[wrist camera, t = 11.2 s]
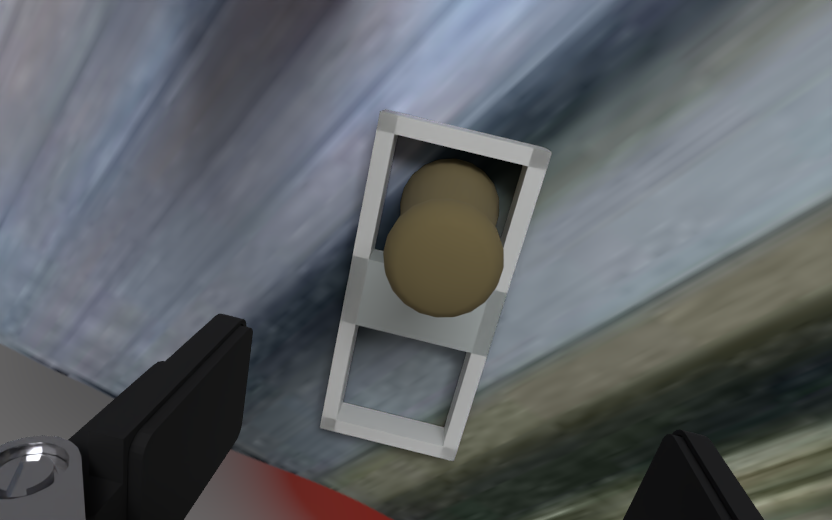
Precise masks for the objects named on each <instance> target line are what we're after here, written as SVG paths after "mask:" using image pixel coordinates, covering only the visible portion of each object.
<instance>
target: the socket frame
mask: <svg viewBox="0 0 832 520" xmlns="http://www.w3.org/2000/svg"><path fill="white" fill-rule="evenodd" d="M398 135H400V136H405V137H409V138H413V139H417V140H421V141H425V142H429V143H434V144H438V145H442V146H446V147H450V148H454V149H458V150H463V151H467V152H471V153H475V154H479V155H483V156H487V157H492V158H496V159H500V160H504V161H508V162H512V163H516V164H521V165H523V166H522V170H521V173H520V176H519V180H518V183H517V186H516V190H515V193H514V196H513V200H512V203H511V206H510V210H509V213H508V216H507V220H506V223H505V226H504V230H503V233H502V236H501V243H502V246H503V249H504V268H503V271H502V274H501V277H500V280H499V283H498V285H497V287H496V289H495V290H494V291H493V293H492V294H491V295H490V297H489V298H488V299H487V300H486V302H485V303H483V304H482V305H480V306H479V307H477V308H476V309H474V310H473V311H471V312H469V313H466V314H463V315H460V316H456V317H439V318H436V317H432V316H429V315H425V314H421V313H418V312H417V311H415V310H414V309H412V308H410V307H409V306H407V305H405V304H404V303H403V302H402V301H401V300H400V298H399V297H398V296H397V295H396V294H395V293H394V292H393V290H392V288H391V286H390V284H389V281H388V279H387V277H386V274H385V269H384V258H383V251H381V250H377V249H375V245H376V240H377V235H378V230H379V225H380V220H381V216H382V211H383V206H384V201H385V196H386V191H387V186H388V182H389V177H390V172H391V167H392V162H393V157H394V152H395V148H396V143H397V138H398ZM551 154H552V152H551V151H549V150H548V149H547V148H544V147H540V146H536V145H532V144H527V143H523V142H519V141H515V140H511V139H507V138H503V137H498V136H494V135H490V134H486V133H482V132H478V131H474V130H469V129H465V128H461V127H457V126H453V125H449V124H444V123H440V122H436V121H432V120H428V119H424V118H420V117H415V116H411V115H407V114H403V113H399V112H395V111H390V110H386V109H385V110H382V111H380V114H379V120H378V125H377V130H376V135H375V141H374V146H373V151H372V156H371V162H370V167H369V172H368V177H367V183H366V188H365V193H364V198H363V204H362V209H361V214H360V219H359V225H358V230H357V235H356V240H355V246H354V251H353V256H352V262H351V267H350V272H349V277H348V283H347V288H346V293H345V298H344V304H343V309H342V314H341V319H340V325H339V330H338V335H337V340H336V346H335V351H334V356H333V361H332V367H331V372H330V377H329V382H328V388H327V393H326V398H325V403H324V409H323V414H322V419H321V424H320V428H322V429H326V430H330V431H334V432H338V433H342V434H346V435H350V436H354V437H358V438H362V439H366V440H370V441H374V442H378V443H382V444H386V445H390V446H394V447H398V448H402V449H406V450H410V451H414V452H418V453H422V454H426V455H430V456H434V457H438V458H442V459H446V460H450V461H454V459H455V456H456V452H457V449H458V446H459V443H460V440H461V437H462V434H463V430H464V427H465V424H466V421H467V418H468V415H469V412H470V408H471V405H472V402H473V399H474V396H475V393H476V390H477V386H478V383H479V380H480V377H481V374H482V371H483V368H484V364H485V361H486V358H487V355H488V352H489V349H490V346H491V342H492V339H493V336H494V333H495V330H496V327H497V324H498V320H499V317H500V314H501V311H502V308H503V305H504V302H505V298H506V295H507V292H508V289H509V286H510V283H511V280H512V276H513V273H514V270H515V267H516V264H517V261H518V258H519V254H520V251H521V248H522V245H523V242H524V239H525V236H526V232H527V229H528V226H529V223H530V220H531V217H532V214H533V210H534V207H535V204H536V201H537V198H538V195H539V192H540V188H541V185H542V182H543V179H544V176H545V173H546V170H547V166H548V163H549V160H550V157H551ZM359 326H363V327H367V328H371V329H375V330H379V331H384V332H388V333H392V334H396V335H400V336H404V337H408V338H412V339H416V340H420V341H424V342H428V343H432V344H436V345H440V346H444V347H448V348H453V349H457V350H461V351H465V352H467V353H466V356H465V360H464V363H463V366H462V370H461V373H460V376H459V380H458V383H457V386H456V390H455V393H454V396H453V400H452V403H451V406H450V410H449V413H448V416H447V420H446V423H445V426H444V427H441V426H437V425H433V424H429V423H425V422H421V421H417V420H413V419H409V418H405V417H401V416H397V415H393V414H389V413H385V412H381V411H377V410H373V409H369V408H365V407H361V406H357V405H353V404H349V403H344V402H343V400H344V395H345V390H346V385H347V380H348V376H349V371H350V366H351V361H352V356H353V351H354V347H355V342H356V337H357V332H358V327H359Z"/></svg>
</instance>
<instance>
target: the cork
mask: <svg viewBox="0 0 832 520" xmlns="http://www.w3.org/2000/svg"><path fill="white" fill-rule="evenodd" d="M400 207H401V216H400V217H399V218H398V220H397V221H396V223H395V224H394V226H393V227H392V229H391V231H390V232H389V234H388V236H387V239H386V243H385V247H384V251H383V258H384V269H385V274H386V277H387V279H388V281H389V284H390V286H391V288H392V290H393V292H394V293H395V294H396V295H397V296H398V297H399V298H400V300H401V301H402V302H403V303H404V304H405V305H407V306H409V307H410V308H412V309H414V310H415V311H417V312H418V313H421V314H425V315H429V316H432V317H436V318H439V317H456V316H460V315H463V314H466V313H469V312H471V311H473V310H474V309H476V308H477V307H479V306H480V305H482V304H483V303H485V302H486V300H487V299H488V298H489V297H490V295H491V294H492V293H493V291H494V290H495V289H496V287H497V285H498V283H499V280H500V277H501V274H502V271H503V268H504V249H503V246H502V243H501V240H500V237H499V234H498V231H497V229H496V223H497V219H498V216H499V197H498V194H497V192H496V189H495V186H494V183H493V182H492V181H491V180H490V178H489V177H488V176H487V174H486V173H485V172H484V171H483V170H481V169H480V168H478V167H477V166H475V165H474V164H472V163H470V162H467V161H463V160H459V159H456V158H453V159H439V160H436V161H433V162H431V163H428V164H426V165H424V166H423V167H421V168H420V169H419V170H418V171H416V172H415V173H414V174H413V175H412V176H411V178H410V179H409V181H408V183H407V184H406V186H405V187H404V190H403V194H402V198H401V202H400Z"/></svg>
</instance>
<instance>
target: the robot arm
mask: <svg viewBox="0 0 832 520" xmlns="http://www.w3.org/2000/svg"><path fill="white" fill-rule="evenodd" d="M252 335H253V331H252V328H249V327H246V321H245V320H244V319H240V318H236V317H232V316H228V315H224V314H218V315H216V316H215V317H214V318H213V319H212V320H211V321H209V322H208V323H207V324H206V325H205V326H204V327H203V328H202V329H201V330H199V331H198V332H197V333H196V334H195V335H194V336H193V337H192V338H191V339H189V340H188V341H187V342H186V343H185V344H184V345H183V346H182V347H181V348H179V349H178V350H177V351H176V352H175V353H174V354H173V355H172V356H171V357H169V358H168V359H167V360H166V361H161V362H157V363H156V364H154V365H153V366H152V367H151V368H149V369H148V370H147V371H146V372H145V373H144V374H143V375H141V376H140V377H139V378H138V379H137V380H136V381H135V382H134V383H132V384H131V385H130V386H129V387H128V388H127V389H126V390H124V391H123V392H122V393H121V394H120V395H119V396H118V397H116V398H115V399H114V400H113V401H112V402H111V403H110V404H108V405H107V406H106V407H105V408H104V409H103V410H102V411H101V412H99V413H98V414H97V415H96V416H95V417H94V418H93V419H91V420H90V421H89V422H88V423H87V424H86V425H85V426H84V427H82V428H81V429H80V430H79V431H78V432H77V433H76V434H75V435H73V436H72V437H71V438H70V439H69V440H66V439H63V438H60V437H55V436H33V437H26V438H21V439H18V440H15V441H10V442H7V443H5V444H3V445H1V446H0V520H184V518H185V517H186V515H187V514H188V512H189V511H190V509H191V508H192V506H193V505H194V503H195V502H196V500H197V499H198V497H199V496H200V494H201V493H202V491H203V490H204V488H205V487H206V485H207V484H208V482H209V481H210V479H211V478H212V476H213V475H214V473H215V472H216V470H217V469H218V467H219V466H220V464H221V463H222V461H223V460H224V458H225V457H226V455H227V454H228V452H229V451H230V449H231V448H232V446H233V445H234V443H235V441H236V440H237V438H238V435H239V433H240V430H241V426H242V419H243V411H244V402H245V394H246V385H247V377H248V369H249V360H250V352H251V344H252ZM623 520H764V519H763V517H762V516H761V514H760V513H759V512H758V510H757V509H756V507H755V506H754V504H753V503H752V501H751V500H750V498H749V497H748V495H747V494H746V492H745V491H744V489H743V488H742V486H741V485H740V483H739V482H738V480H737V479H736V477H735V476H734V474H733V473H732V472H731V470H730V469H729V467H728V466H727V464H726V463H725V461H724V460H723V458H722V457H721V455H720V454H719V452H718V451H717V449H716V448H715V446H714V445H713V443H712V442H711V440H710V439H709V438H708V437H706V436H703V435H699V434H695V433H691V432H687V431H683V430H676V431H675V432H673V434H667V435H666V436H665V437H664V438H663V440H662V442H661V444H660V446H659V448H658V450H657V452H656V454H655V456H654V458H653V460H652V462H651V464H650V466H649V468H648V470H647V472H646V474H645V476H644V478H643V480H642V482H641V484H640V486H639V488H638V490H637V492H636V494H635V496H634V498H633V500H632V503H631V505H630V507H629V509H628V511H627V513H626V515H625V517H624V519H623Z"/></svg>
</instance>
